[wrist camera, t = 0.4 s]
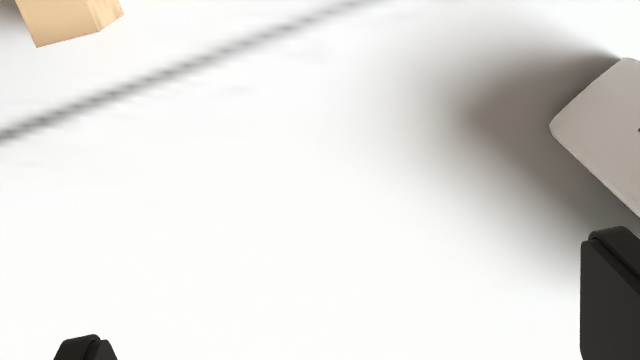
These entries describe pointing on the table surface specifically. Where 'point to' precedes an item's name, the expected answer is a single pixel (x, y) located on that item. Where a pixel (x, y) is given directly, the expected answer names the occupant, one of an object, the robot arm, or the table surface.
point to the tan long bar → (66, 18)
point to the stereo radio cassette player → (607, 130)
